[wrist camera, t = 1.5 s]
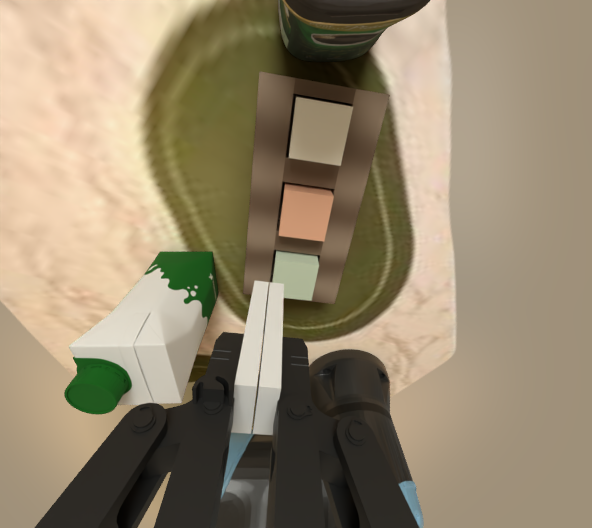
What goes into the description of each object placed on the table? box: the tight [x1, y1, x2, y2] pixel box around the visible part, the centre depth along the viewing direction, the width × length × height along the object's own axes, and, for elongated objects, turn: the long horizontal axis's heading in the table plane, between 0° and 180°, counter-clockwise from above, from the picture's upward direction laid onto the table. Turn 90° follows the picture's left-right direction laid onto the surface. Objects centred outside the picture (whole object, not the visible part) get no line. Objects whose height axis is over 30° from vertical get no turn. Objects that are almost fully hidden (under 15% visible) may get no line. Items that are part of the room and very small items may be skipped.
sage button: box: [272, 250, 319, 301], centre depth 35 cm, size 5×5×4 cm
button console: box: [243, 72, 390, 304], centre depth 34 cm, size 24×12×5 cm, turn 171°
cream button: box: [289, 97, 353, 166], centre depth 27 cm, size 5×5×4 cm
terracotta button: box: [279, 182, 334, 242], centre depth 31 cm, size 5×5×4 cm
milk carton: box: [65, 252, 218, 414], centre depth 32 cm, size 9×9×20 cm
